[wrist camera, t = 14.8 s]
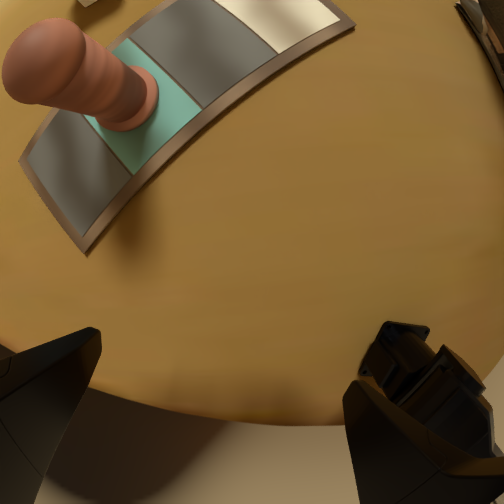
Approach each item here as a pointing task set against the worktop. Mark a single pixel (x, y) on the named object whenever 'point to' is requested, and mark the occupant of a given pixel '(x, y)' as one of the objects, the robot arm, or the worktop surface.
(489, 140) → the worktop surface
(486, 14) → the radio
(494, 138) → the worktop surface
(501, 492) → the robot arm
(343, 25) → the game board
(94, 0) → the die
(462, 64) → the worktop surface
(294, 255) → the worktop surface
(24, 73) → the pawn
